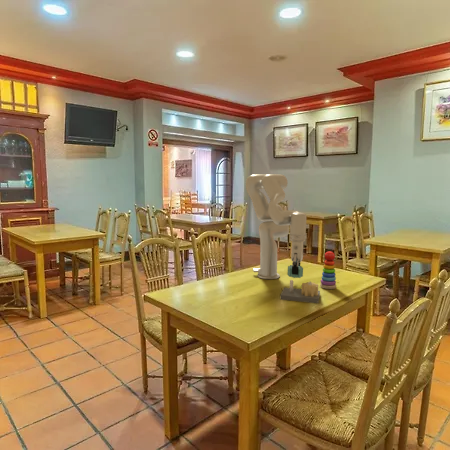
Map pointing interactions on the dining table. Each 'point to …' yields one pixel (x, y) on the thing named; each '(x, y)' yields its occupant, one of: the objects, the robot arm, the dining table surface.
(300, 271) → the teal gear
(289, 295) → the gear board
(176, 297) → the dining table surface
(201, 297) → the dining table surface
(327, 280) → the stacking toy
